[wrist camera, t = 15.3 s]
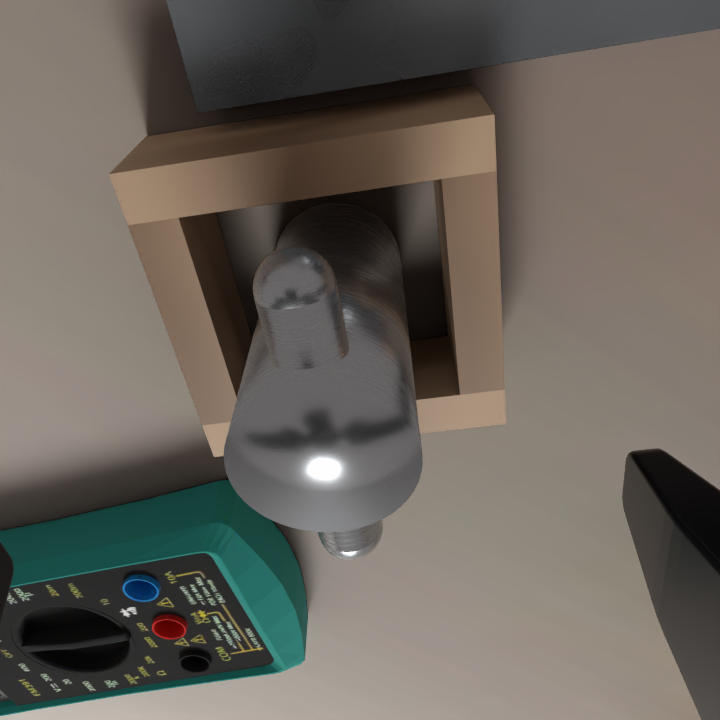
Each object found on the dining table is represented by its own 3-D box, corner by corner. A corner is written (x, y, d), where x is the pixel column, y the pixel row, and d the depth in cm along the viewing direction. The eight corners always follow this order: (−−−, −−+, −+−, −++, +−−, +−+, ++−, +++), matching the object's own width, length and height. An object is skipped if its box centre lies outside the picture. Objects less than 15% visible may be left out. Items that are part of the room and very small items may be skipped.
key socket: (474, 83, 13) (494, 114, 11) (488, 363, 17) (506, 423, 15) (146, 136, 14) (109, 174, 12) (231, 394, 18) (213, 456, 16)
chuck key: (383, 121, 14) (397, 267, 8) (413, 361, 17) (439, 584, 12) (245, 142, 14) (162, 298, 8) (302, 374, 18) (271, 600, 12)
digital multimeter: (326, 604, 24) (322, 682, 21) (-32, 666, 26) (-72, 742, 24) (256, 459, 20) (241, 534, 18) (-158, 545, 22) (-223, 623, 20)
